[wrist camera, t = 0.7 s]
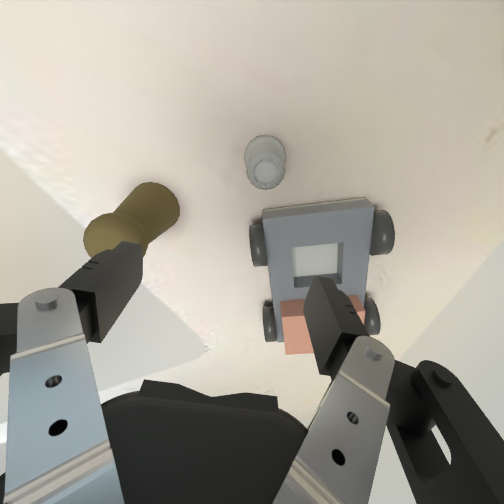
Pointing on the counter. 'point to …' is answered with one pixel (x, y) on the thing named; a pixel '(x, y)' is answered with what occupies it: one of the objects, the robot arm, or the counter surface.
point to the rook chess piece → (265, 162)
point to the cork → (134, 219)
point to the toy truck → (318, 261)
